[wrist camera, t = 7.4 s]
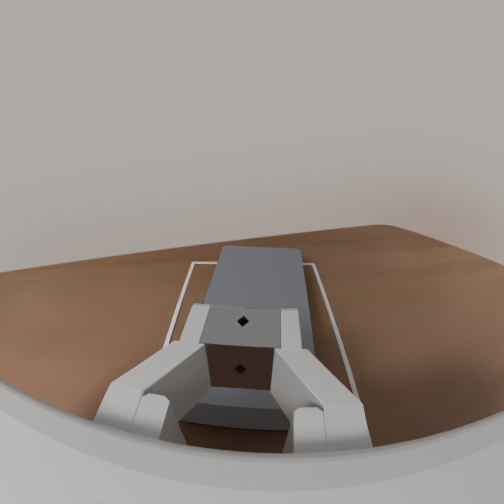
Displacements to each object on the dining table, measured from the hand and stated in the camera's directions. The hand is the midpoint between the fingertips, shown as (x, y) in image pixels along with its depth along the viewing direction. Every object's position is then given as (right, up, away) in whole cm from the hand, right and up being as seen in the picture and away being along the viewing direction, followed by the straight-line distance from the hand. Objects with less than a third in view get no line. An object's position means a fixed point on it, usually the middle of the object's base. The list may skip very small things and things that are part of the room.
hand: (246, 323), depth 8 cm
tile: (0, -5, +2) cm, 5 cm away
